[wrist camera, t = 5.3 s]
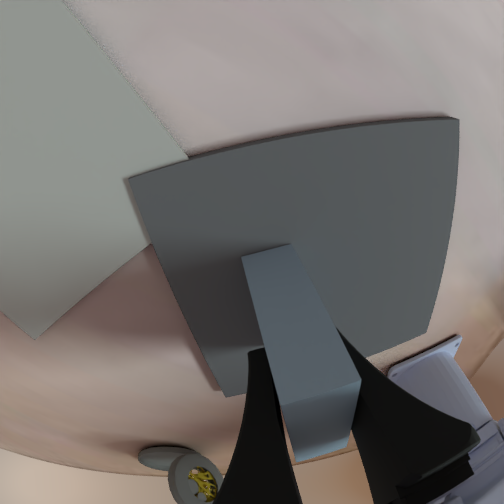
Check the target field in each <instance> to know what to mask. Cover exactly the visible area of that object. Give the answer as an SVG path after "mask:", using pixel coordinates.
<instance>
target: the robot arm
mask: <svg viewBox="0 0 504 504" xmlns="http://www.w3.org/2000/svg"><path fill="white" fill-rule="evenodd" d="M336 329H337V328H336ZM337 331H338V333H339V335H340V337H341V339H342V341H343V343H344V345H345V347H346V349H347V351H348V353H349V355H350V357H351V359H352V361H353V363H354V365H355V367H356V369H357V371H358V374H359V376H360V378H361V385H360V390H359V395H358V400H357V405H356V409H355V414H354V418H353V422H352V427H351V430H352V433H353V435H354V438H355V441H356V444H357V447H358V450H359V453H360V456H361V459H362V462H363V466H364V469H365V472H366V476H367V479H368V483H369V486H370V490H371V494H372V498H373V502H374V504H504V418H502V419H500V420H499V421H498V423H497V421H495V420H493V419H492V417H491V415H490V413H489V412H488V410H487V409H486V407H485V405H484V404H483V402H482V400H481V399H480V397H479V396H478V394H477V393H476V391H475V390H474V388H473V386H472V385H471V383H470V382H469V380H468V379H467V377H466V376H465V374H464V373H463V371H462V370H461V368H460V367H459V366H458V364H457V363H456V361H455V360H454V355H455V353H456V351H457V349H458V347H459V345H460V343H461V340H462V336H461V335H457V336H455V337H453V338H452V339H450V340H448V341H446V342H444V343H442V344H440V345H438V346H436V347H434V348H432V349H430V350H428V351H426V352H423V353H421V354H419V355H417V356H415V357H413V358H410V359H408V360H406V361H404V362H401V363H399V364H397V365H394V366H393V367H391V368H390V369H389V372H388V375H387V377H386V376H385V375H384V374H383V373H381V372H380V371H379V370H378V369H377V368H376V367H374V366H373V365H372V364H371V363H370V362H369V361H368V360H367V359H366V358H365V357H364V356H363V355H362V354H361V353H360V352H359V351H358V350H357V349H356V348H355V347H354V346H353V345H352V344H351V343H350V342H349V341H348V340H347V339H346V338H345V337H344V336H343V334H342V333H341V332H340V331H339V330H338V329H337ZM247 354H248V385H247V394H246V402H245V408H244V414H243V419H242V424H241V428H240V433H239V436H238V440H237V444H236V447H235V450H234V453H233V456H232V460H231V462H230V465H229V468H228V470H227V473H226V475H225V478H224V480H223V482H222V485H221V487H220V489H219V491H218V494H217V495H216V497H215V499H214V501H213V503H212V504H303V503H302V500H301V496H300V493H299V489H298V486H297V482H296V479H295V475H294V472H293V468H292V464H291V461H290V457H289V453H288V449H287V445H286V439H285V434H284V428H283V422H282V416H281V410H280V404H279V398H278V394H277V391H276V387H275V383H274V380H273V376H272V372H271V369H270V365H269V361H268V357H267V354H266V350H265V347H263V348H259V349H255V350H251V351H249V352H248V353H247Z"/></svg>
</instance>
